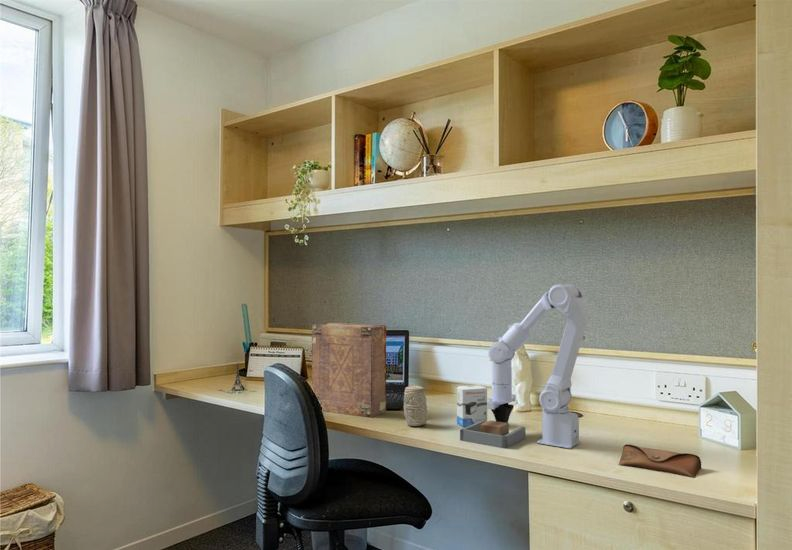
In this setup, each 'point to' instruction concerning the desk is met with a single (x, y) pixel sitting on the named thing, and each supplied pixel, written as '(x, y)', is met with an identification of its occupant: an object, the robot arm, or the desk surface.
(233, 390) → the eiffel tower figurine
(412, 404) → the carving
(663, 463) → the sunglasses case
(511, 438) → the box
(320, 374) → the book
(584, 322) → the robot arm
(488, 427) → the brown wooden block
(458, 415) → the ink box
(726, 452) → the desk surface
